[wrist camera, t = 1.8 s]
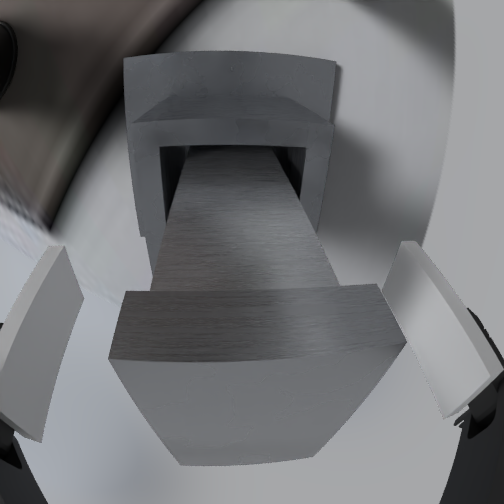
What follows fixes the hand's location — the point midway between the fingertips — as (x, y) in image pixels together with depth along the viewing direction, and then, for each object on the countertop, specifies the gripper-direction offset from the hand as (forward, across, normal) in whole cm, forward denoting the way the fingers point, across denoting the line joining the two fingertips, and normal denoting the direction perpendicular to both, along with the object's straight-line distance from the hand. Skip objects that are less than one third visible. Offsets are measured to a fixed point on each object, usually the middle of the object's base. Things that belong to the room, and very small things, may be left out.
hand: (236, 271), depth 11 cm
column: (+14, 0, 0) cm, 14 cm away
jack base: (+16, 0, 0) cm, 16 cm away
